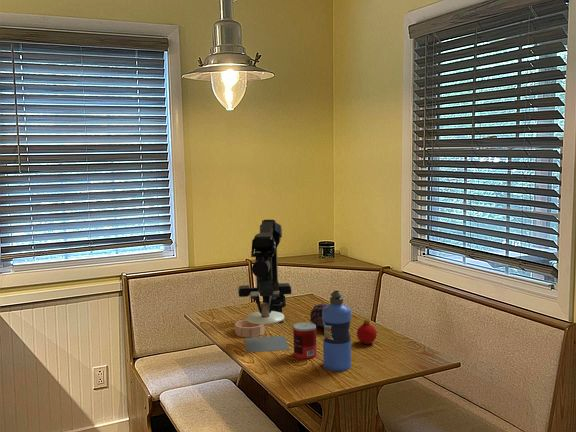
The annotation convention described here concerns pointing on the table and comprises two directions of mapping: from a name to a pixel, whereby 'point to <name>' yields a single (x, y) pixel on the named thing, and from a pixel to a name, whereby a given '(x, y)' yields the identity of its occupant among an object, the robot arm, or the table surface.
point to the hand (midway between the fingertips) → (265, 313)
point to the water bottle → (336, 334)
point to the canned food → (304, 340)
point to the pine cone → (317, 315)
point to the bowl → (248, 329)
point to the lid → (265, 316)
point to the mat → (266, 344)
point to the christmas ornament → (366, 332)
